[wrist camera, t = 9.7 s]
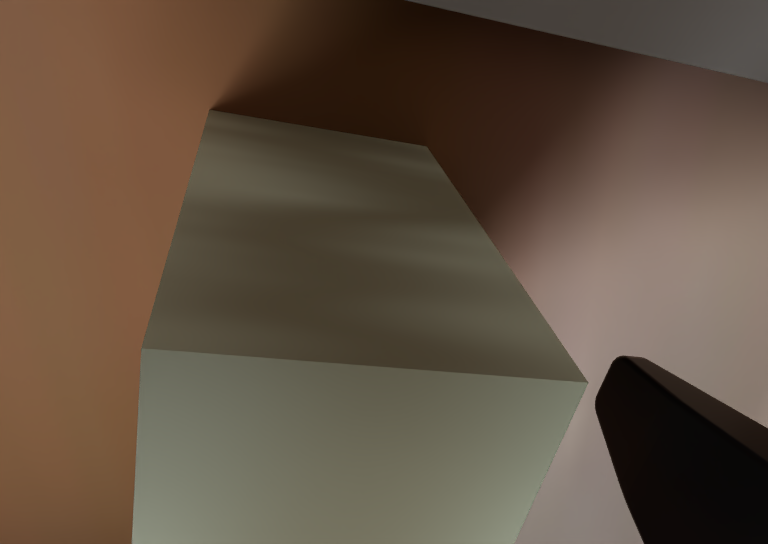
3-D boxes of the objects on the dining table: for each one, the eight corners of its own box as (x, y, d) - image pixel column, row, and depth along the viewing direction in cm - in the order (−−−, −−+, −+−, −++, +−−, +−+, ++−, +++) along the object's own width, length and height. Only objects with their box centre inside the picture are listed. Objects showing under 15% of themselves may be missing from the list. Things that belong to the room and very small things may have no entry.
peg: (426, 146, 12) (587, 382, 6) (381, 321, 14) (471, 636, 8) (209, 109, 11) (141, 349, 5) (191, 302, 13) (126, 647, 7)
